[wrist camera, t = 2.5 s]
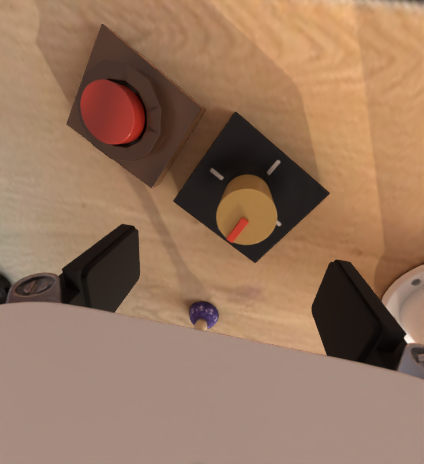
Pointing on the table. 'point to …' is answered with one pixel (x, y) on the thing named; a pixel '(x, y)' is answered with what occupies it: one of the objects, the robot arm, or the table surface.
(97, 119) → the power button
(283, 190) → the dimmer
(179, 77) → the table surface
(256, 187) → the dimmer knob
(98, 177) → the table surface
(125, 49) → the switch box
